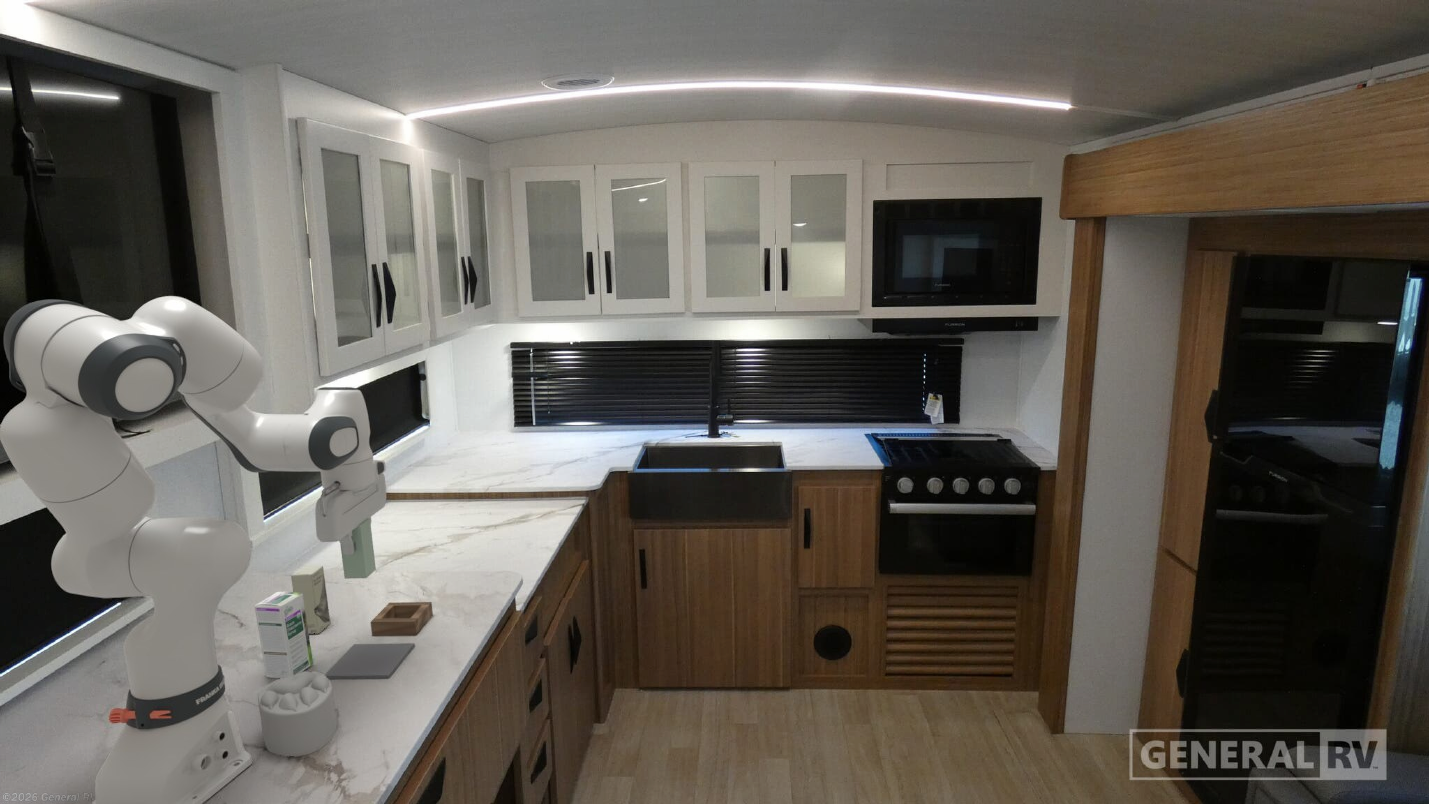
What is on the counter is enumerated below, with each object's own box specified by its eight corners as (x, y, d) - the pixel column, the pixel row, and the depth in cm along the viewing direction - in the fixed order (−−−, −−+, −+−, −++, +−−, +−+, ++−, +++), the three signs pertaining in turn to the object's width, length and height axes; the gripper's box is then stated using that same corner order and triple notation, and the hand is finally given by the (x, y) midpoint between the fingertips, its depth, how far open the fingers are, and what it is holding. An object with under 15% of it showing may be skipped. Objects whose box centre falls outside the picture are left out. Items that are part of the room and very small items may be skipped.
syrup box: (292, 680, 150) (282, 605, 147) (264, 677, 151) (253, 603, 148) (313, 664, 155) (304, 592, 152) (286, 662, 156) (276, 590, 154)
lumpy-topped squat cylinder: (328, 705, 141) (321, 659, 139) (345, 741, 131) (339, 691, 129) (259, 728, 135) (252, 679, 133) (272, 767, 125) (264, 714, 123)
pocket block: (416, 635, 166) (414, 621, 165) (372, 635, 166) (370, 622, 165) (432, 615, 174) (431, 601, 174) (390, 615, 175) (389, 602, 174)
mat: (389, 678, 149) (388, 675, 149) (323, 679, 150) (323, 676, 150) (415, 646, 161) (414, 643, 161) (354, 646, 162) (354, 644, 161)
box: (319, 634, 167) (311, 574, 165) (297, 635, 167) (289, 575, 165) (331, 622, 172) (324, 564, 170) (310, 623, 172) (303, 565, 170)
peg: (366, 578, 150) (360, 525, 148) (344, 578, 150) (338, 526, 148) (375, 569, 154) (369, 518, 152) (354, 569, 154) (348, 518, 152)
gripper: (337, 491, 138) (347, 569, 141) (389, 459, 158) (396, 528, 161) (300, 492, 138) (311, 570, 141) (356, 460, 158) (364, 528, 161)
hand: (357, 547), depth 151 cm, fingers closed on peg, 4 cm apart
